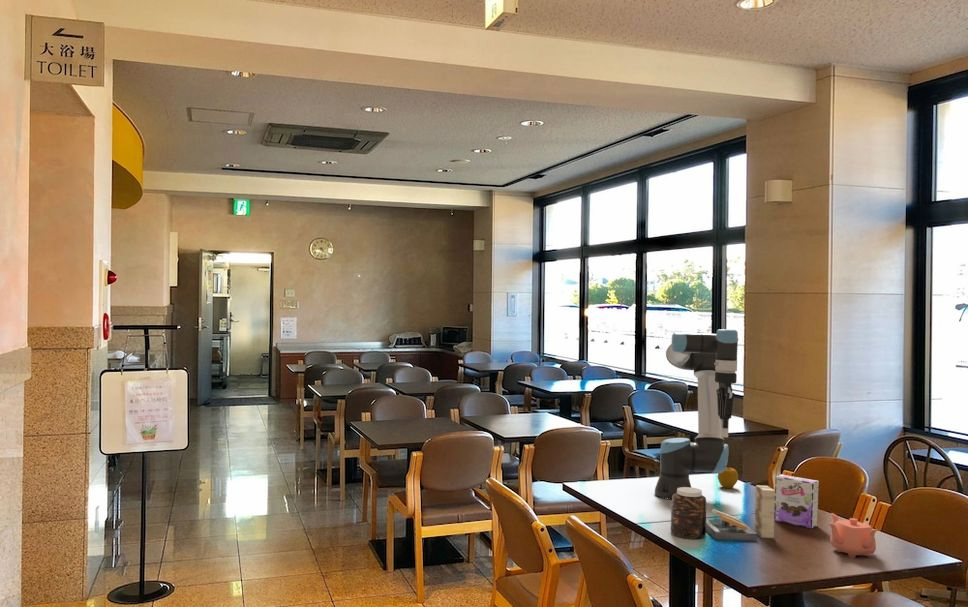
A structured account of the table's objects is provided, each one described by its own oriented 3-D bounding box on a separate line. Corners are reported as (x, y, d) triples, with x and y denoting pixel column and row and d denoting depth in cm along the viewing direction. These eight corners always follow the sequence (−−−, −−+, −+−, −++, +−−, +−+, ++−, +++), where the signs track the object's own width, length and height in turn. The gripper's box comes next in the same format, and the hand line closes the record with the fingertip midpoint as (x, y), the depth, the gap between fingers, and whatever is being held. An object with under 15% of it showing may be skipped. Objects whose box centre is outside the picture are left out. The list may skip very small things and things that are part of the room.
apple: (734, 491, 327) (735, 470, 327) (714, 488, 331) (715, 467, 331) (740, 487, 334) (740, 467, 334) (720, 484, 338) (721, 464, 338)
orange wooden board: (718, 516, 260) (719, 513, 260) (742, 527, 260) (743, 524, 260) (721, 519, 257) (722, 516, 257) (745, 530, 257) (747, 527, 257)
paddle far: (711, 511, 267) (712, 508, 267) (735, 521, 267) (736, 518, 267) (714, 514, 264) (716, 511, 264) (738, 524, 264) (740, 520, 264)
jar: (712, 539, 255) (713, 494, 255) (678, 539, 253) (680, 494, 253) (696, 528, 267) (698, 485, 267) (664, 529, 265) (666, 485, 265)
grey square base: (701, 526, 270) (702, 516, 270) (741, 528, 270) (741, 517, 270) (715, 539, 255) (715, 528, 255) (757, 540, 255) (757, 530, 255)
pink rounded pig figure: (877, 563, 235) (878, 528, 235) (826, 555, 242) (827, 520, 242) (878, 551, 248) (879, 517, 248) (829, 543, 255) (830, 510, 255)
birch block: (754, 531, 266) (755, 485, 266) (765, 531, 266) (767, 485, 266) (761, 537, 259) (763, 490, 259) (773, 538, 259) (775, 490, 259)
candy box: (773, 520, 281) (774, 475, 281) (779, 517, 285) (781, 473, 285) (811, 529, 272) (813, 482, 272) (817, 526, 276) (819, 480, 276)
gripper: (710, 370, 285) (708, 433, 285) (721, 373, 272) (719, 439, 272) (730, 370, 285) (728, 434, 285) (742, 373, 272) (740, 440, 272)
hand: (723, 436), depth 278 cm, fingers closed
